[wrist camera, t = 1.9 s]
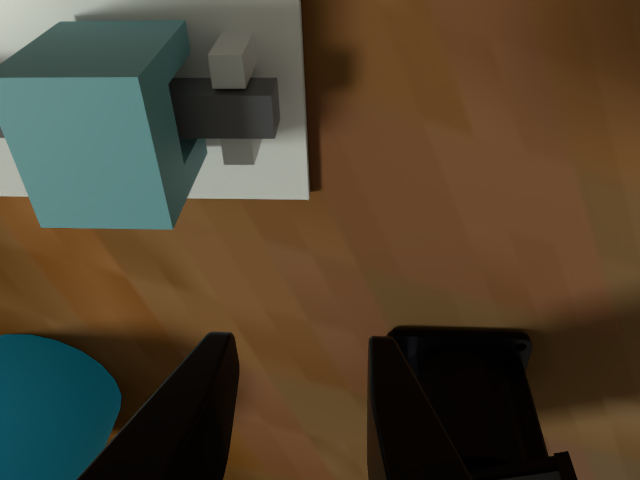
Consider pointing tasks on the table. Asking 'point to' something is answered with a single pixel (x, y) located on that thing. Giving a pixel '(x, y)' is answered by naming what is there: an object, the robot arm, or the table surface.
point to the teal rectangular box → (100, 124)
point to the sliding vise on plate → (207, 87)
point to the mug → (52, 408)
